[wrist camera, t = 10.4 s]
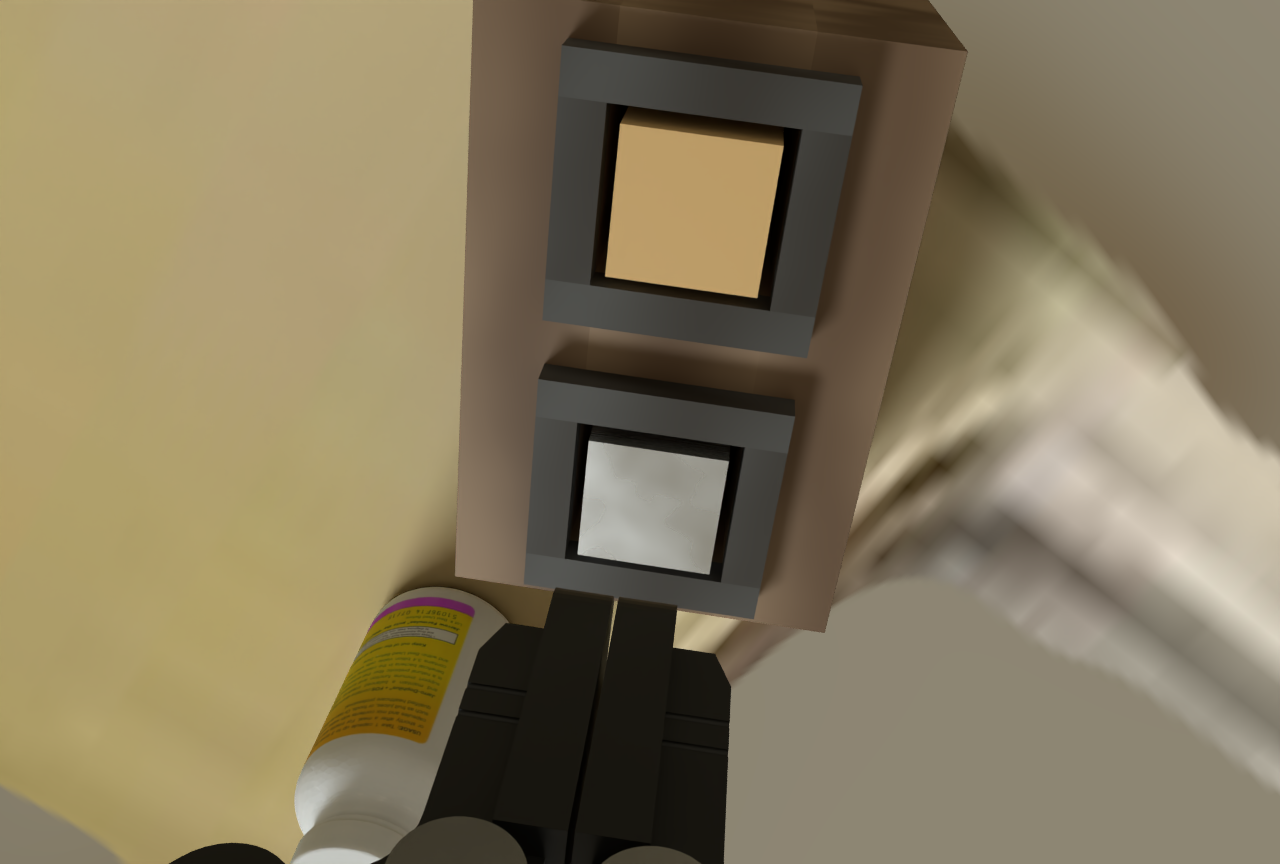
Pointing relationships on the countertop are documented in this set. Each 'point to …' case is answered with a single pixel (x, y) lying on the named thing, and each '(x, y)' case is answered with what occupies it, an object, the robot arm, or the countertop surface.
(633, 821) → the robot arm
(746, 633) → the countertop surface
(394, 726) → the supplement bottle
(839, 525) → the walnut block
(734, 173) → the ochre peg
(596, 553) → the grey metal peg
